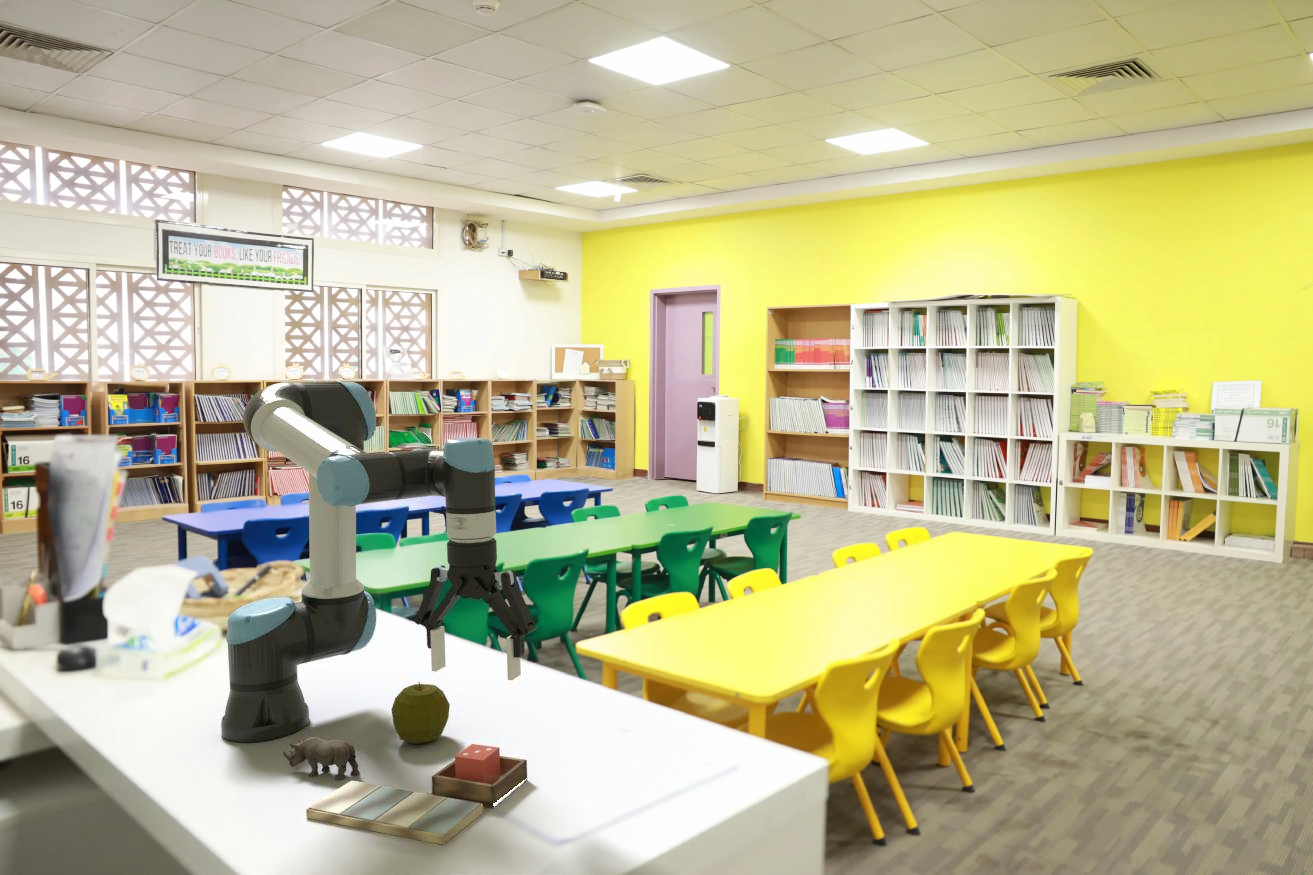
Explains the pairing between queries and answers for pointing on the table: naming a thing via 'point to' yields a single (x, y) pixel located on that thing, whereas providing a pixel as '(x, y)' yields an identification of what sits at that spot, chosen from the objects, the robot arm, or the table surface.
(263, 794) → the table surface
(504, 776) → the dice tray
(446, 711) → the apple
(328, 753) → the rhino figurine
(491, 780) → the die
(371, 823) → the board
